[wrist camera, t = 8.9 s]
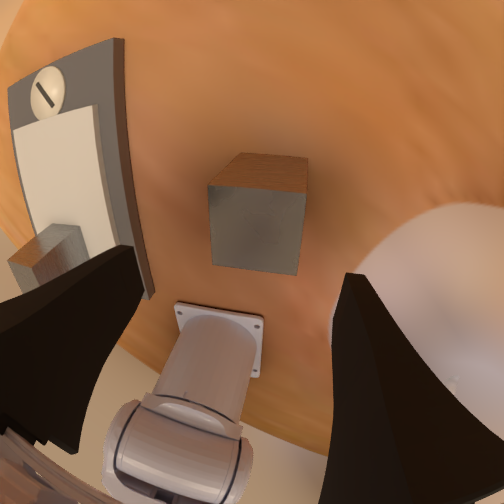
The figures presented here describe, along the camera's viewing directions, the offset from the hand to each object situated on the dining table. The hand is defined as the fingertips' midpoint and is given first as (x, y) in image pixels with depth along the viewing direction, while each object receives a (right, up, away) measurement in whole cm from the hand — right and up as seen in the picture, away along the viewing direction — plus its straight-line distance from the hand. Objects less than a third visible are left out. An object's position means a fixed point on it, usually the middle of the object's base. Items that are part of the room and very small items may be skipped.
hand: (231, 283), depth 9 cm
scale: (-15, +7, +10) cm, 19 cm away
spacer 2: (+2, +5, +8) cm, 10 cm away
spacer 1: (-15, +2, +12) cm, 19 cm away
